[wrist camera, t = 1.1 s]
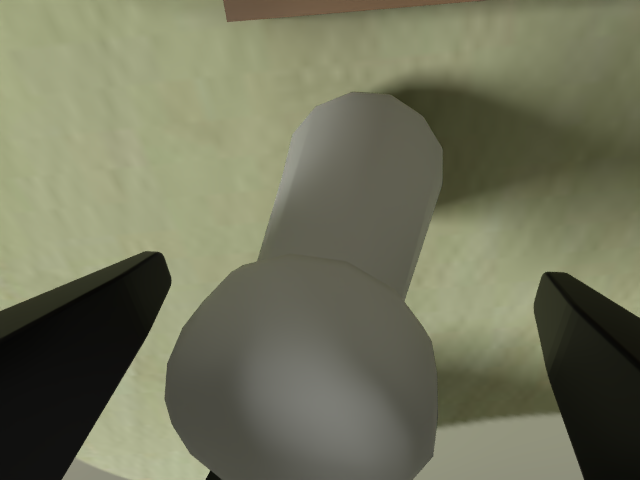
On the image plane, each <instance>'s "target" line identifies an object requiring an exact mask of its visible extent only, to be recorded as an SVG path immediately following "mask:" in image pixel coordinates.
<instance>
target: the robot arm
mask: <svg viewBox="0 0 640 480" xmlns="http://www.w3.org/2000/svg"><path fill="white" fill-rule="evenodd" d="M170 286H171V275H170V272H169V270H168V267H167V264H166V261H165V258H164V256H163V254H162V253H160V252H151V251H145V252H142V253H140V254H137V255H135V256H132V257H130V258H128V259H125V260H123V261H120V262H118V263H116V264H113V265H111V266H108V267H106V268H103V269H101V270H99V271H96V272H94V273H91V274H89V275H87V276H84V277H82V278H79V279H77V280H74V281H72V282H70V283H67V284H65V285H62V286H60V287H58V288H55V289H53V290H50V291H48V292H45V293H43V294H41V295H38V296H36V297H33V298H31V299H29V300H26V301H24V302H21V303H19V304H16V305H14V306H12V307H9V308H7V309H4V310H2V311H0V480H62V478H63V476H64V475H65V473H66V472H67V470H68V468H69V467H70V465H71V463H72V462H73V460H74V458H75V457H76V455H77V453H78V451H79V450H80V448H81V446H82V445H83V443H84V441H85V440H86V438H87V436H88V435H89V433H90V431H91V430H92V428H93V426H94V425H95V423H96V421H97V420H98V418H99V416H100V415H101V413H102V411H103V410H104V408H105V406H106V405H107V403H108V401H109V400H110V398H111V396H112V395H113V393H114V391H115V390H116V388H117V386H118V385H119V383H120V381H121V379H122V378H123V376H124V374H125V373H126V371H127V369H128V368H129V366H130V364H131V363H132V361H133V359H134V358H135V356H136V354H137V353H138V351H139V349H140V348H141V346H142V344H143V343H144V341H145V339H146V337H147V335H148V333H149V331H150V329H151V327H152V325H153V323H154V321H155V319H156V317H157V315H158V312H159V310H160V308H161V306H162V304H163V302H164V300H165V297H166V295H167V293H168V291H169V289H170ZM534 315H535V319H536V324H537V328H538V333H539V338H540V342H541V347H542V352H543V356H544V361H545V365H546V369H547V374H548V377H549V380H550V384H551V387H552V390H553V392H554V395H555V398H556V401H557V404H558V407H559V409H560V412H561V415H562V418H563V421H564V424H565V427H566V429H567V432H568V435H569V438H570V441H571V443H572V446H573V449H574V452H575V455H576V458H577V461H578V463H579V466H580V469H581V472H582V475H583V478H584V480H640V318H639V317H637V316H636V315H634V314H633V313H631V312H629V311H628V310H626V309H624V308H623V307H621V306H620V305H618V304H616V303H615V302H613V301H612V300H610V299H608V298H607V297H605V296H603V295H602V294H600V293H599V292H597V291H595V290H594V289H592V288H590V287H589V286H587V285H586V284H584V283H582V282H581V281H579V280H578V279H576V278H574V277H573V276H571V275H569V274H568V273H564V272H545V273H544V274H543V275H542V277H541V280H540V283H539V287H538V290H537V294H536V297H535V301H534ZM206 480H222V479H221V478H219V477H218V476H217V475H216V474H215V473H213V472H212V471H211V470H210V472H209V474H208V476H207V478H206Z"/></svg>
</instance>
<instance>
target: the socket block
mask: <svg viewBox="0 0 640 480" xmlns="http://www.w3.org/2000/svg"><path fill="white" fill-rule="evenodd" d="M223 1H224V7H225V13H226V18H227V22H233V21H245V20H257V19H268V18H280V17H292V16H304V15H316V14H328V13H340V12H352V11H364V10H376V9H388V8H400V7H412V6H424V5H436V4H448V3H460V2H472V1H484V0H223Z"/></svg>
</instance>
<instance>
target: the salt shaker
mask: <svg viewBox="0 0 640 480" xmlns="http://www.w3.org/2000/svg"><path fill="white" fill-rule="evenodd" d="M442 184H443V148H442V147H441V145H440V143H439V142H438V140H437V138H436V137H435V135H434V133H433V132H432V130H431V128H430V127H429V125H428V123H427V122H426V120H425V118H424V117H423V116H422V115H421V114H419V113H418V112H416V111H415V110H413V109H412V108H410V107H409V106H407V105H406V104H404V103H403V102H401V101H399V100H398V99H396V98H395V97H393V96H392V95H390V94H377V93H363V92H351V93H348V94H346V95H343V96H341V97H338V98H336V99H333V100H331V101H328V102H326V103H323V104H321V105H318V106H316V107H315V108H314V109H313V110H312V111H311V113H310V114H309V115H308V116H307V117H306V119H305V120H304V121H303V122H302V123H301V125H300V126H299V127H298V128H297V129H296V131H295V132H294V133H293V135H292V139H291V143H290V147H289V151H288V155H287V159H286V163H285V168H284V172H283V175H282V179H281V182H280V185H279V189H278V192H277V196H276V199H275V202H274V206H273V209H272V213H271V216H270V220H269V223H268V226H267V230H266V233H265V237H264V240H263V243H262V247H261V250H260V254H259V257H258V260H257V262H254V263H250V264H246V265H242V266H241V267H239V268H237V269H236V270H234V271H232V272H231V273H230V274H229V275H228V276H227V277H226V278H225V279H224V280H223V281H222V282H221V283H220V284H219V285H218V287H217V288H216V289H215V290H214V291H213V292H212V293H211V294H210V295H209V296H208V297H207V298H206V299H205V300H204V301H203V302H202V303H201V305H200V306H199V307H198V309H197V310H196V311H195V312H194V314H193V315H192V316H191V318H190V319H189V320H188V321H187V323H186V324H185V325H184V327H183V328H182V330H181V333H180V335H179V337H178V340H177V342H176V344H175V347H174V349H173V351H172V354H171V356H170V358H169V361H168V363H167V373H166V387H165V402H166V406H167V409H168V413H169V416H170V420H171V423H172V425H173V427H174V429H175V430H176V432H177V433H178V435H179V437H180V438H181V440H182V441H183V443H184V445H185V446H186V448H187V449H188V451H189V452H190V454H191V455H192V456H194V457H195V458H196V459H197V460H198V461H200V462H201V463H202V464H203V465H205V466H206V467H207V468H208V469H210V470H211V471H212V472H213V473H215V474H216V475H217V476H218V477H219V478H221V479H222V480H413V479H414V478H415V476H416V475H417V474H418V473H419V472H420V470H422V468H423V467H424V466H425V465H426V464H427V463H428V462H429V461H430V459H431V458H432V457H433V452H434V443H435V436H436V428H437V420H438V390H437V370H436V364H435V358H434V352H433V346H432V341H431V339H430V337H429V336H428V334H427V332H426V331H425V329H424V327H423V326H422V325H421V323H420V322H419V321H418V319H417V318H416V317H415V315H414V314H413V313H412V311H411V310H410V309H409V307H408V306H407V305H406V303H405V302H404V301H405V298H406V295H407V291H408V288H409V285H410V282H411V279H412V276H413V273H414V270H415V267H416V264H417V261H418V258H419V255H420V252H421V249H422V245H423V242H424V239H425V236H426V233H427V230H428V227H429V224H430V221H431V218H432V215H433V212H434V209H435V206H436V203H437V200H438V196H439V193H440V190H441V187H442Z"/></svg>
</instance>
